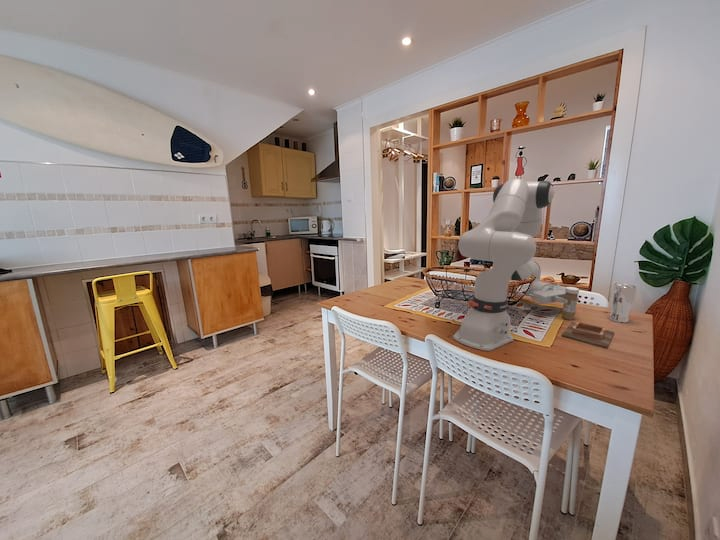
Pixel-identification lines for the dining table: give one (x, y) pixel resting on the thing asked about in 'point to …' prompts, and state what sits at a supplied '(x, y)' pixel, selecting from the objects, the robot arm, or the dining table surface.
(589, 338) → the tube stand
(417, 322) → the dining table surface
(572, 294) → the sprinkles bottle
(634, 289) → the beer glass
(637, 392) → the dining table surface
